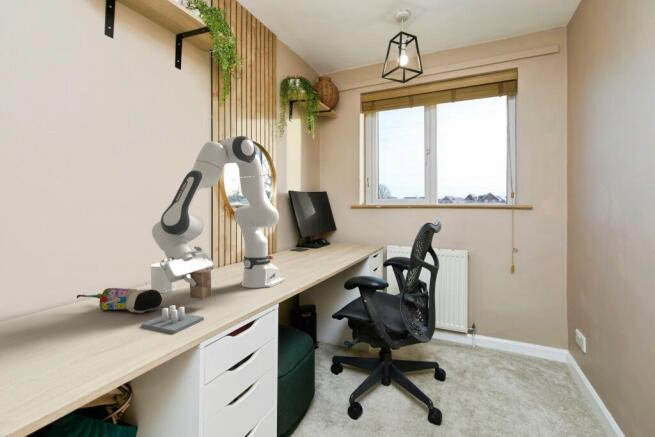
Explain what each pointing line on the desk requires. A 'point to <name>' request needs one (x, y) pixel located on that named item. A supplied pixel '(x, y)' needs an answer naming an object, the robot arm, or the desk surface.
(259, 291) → the desk surface
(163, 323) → the stand
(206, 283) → the block
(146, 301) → the toy
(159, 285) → the toilet paper
